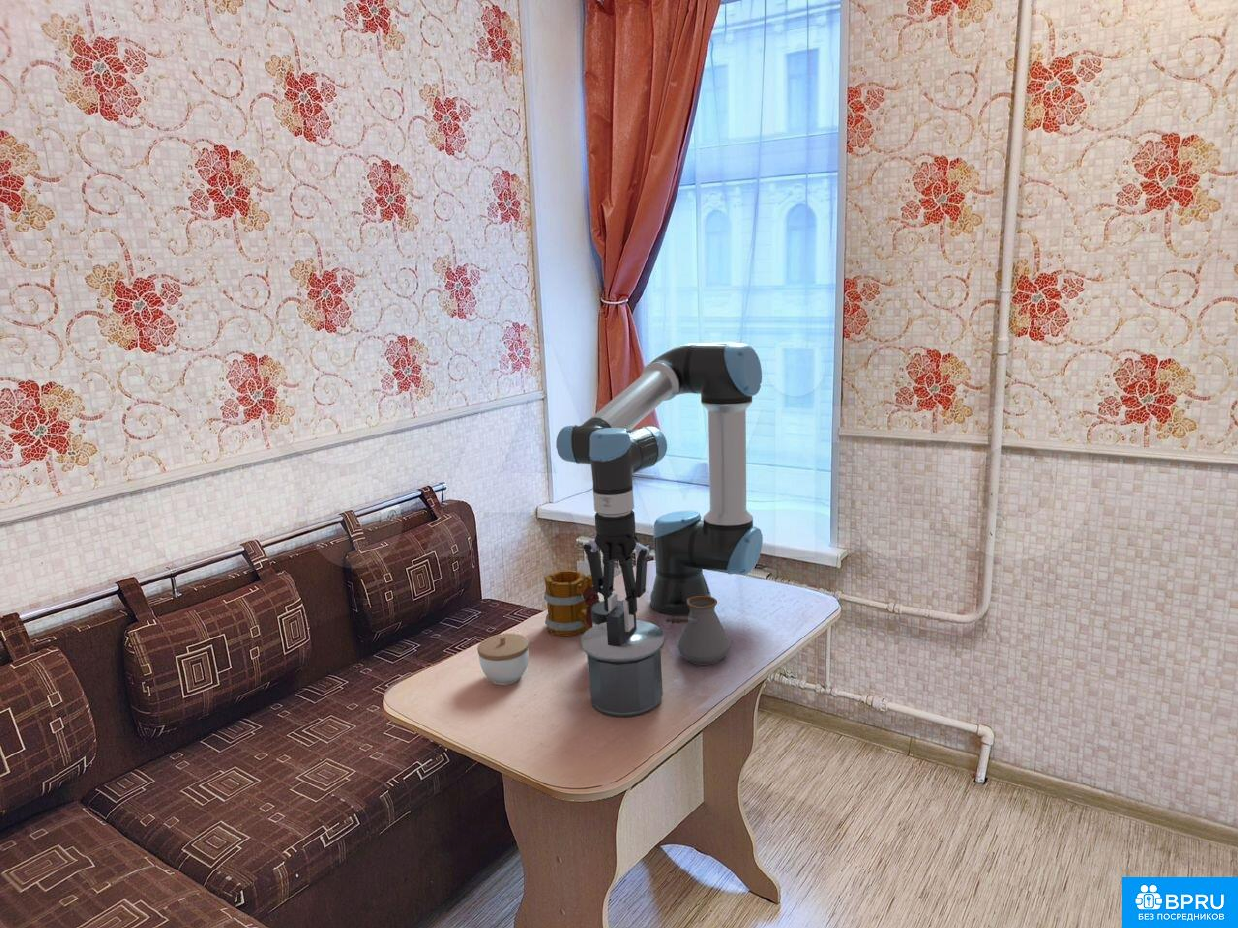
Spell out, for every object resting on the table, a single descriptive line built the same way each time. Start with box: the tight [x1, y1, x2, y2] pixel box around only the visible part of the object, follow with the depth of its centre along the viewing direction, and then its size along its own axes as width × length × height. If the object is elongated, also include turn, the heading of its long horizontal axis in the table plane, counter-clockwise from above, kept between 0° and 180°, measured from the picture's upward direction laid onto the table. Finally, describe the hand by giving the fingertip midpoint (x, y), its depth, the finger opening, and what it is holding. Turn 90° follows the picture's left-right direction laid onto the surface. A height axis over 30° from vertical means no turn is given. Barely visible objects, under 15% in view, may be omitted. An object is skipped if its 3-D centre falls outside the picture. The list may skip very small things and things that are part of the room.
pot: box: [586, 649, 664, 718], centre depth 164 cm, size 14×18×11 cm
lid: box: [581, 599, 665, 662], centre depth 160 cm, size 16×16×8 cm
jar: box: [591, 600, 622, 627], centre depth 179 cm, size 9×8×12 cm
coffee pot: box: [661, 596, 731, 666], centre depth 173 cm, size 21×12×15 cm, turn 147°
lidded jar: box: [477, 633, 530, 686], centre depth 174 cm, size 11×11×9 cm
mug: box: [543, 569, 601, 637], centre depth 195 cm, size 11×16×15 cm, turn 46°
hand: (622, 627), depth 160 cm, fingers closed on lid, 2 cm apart
